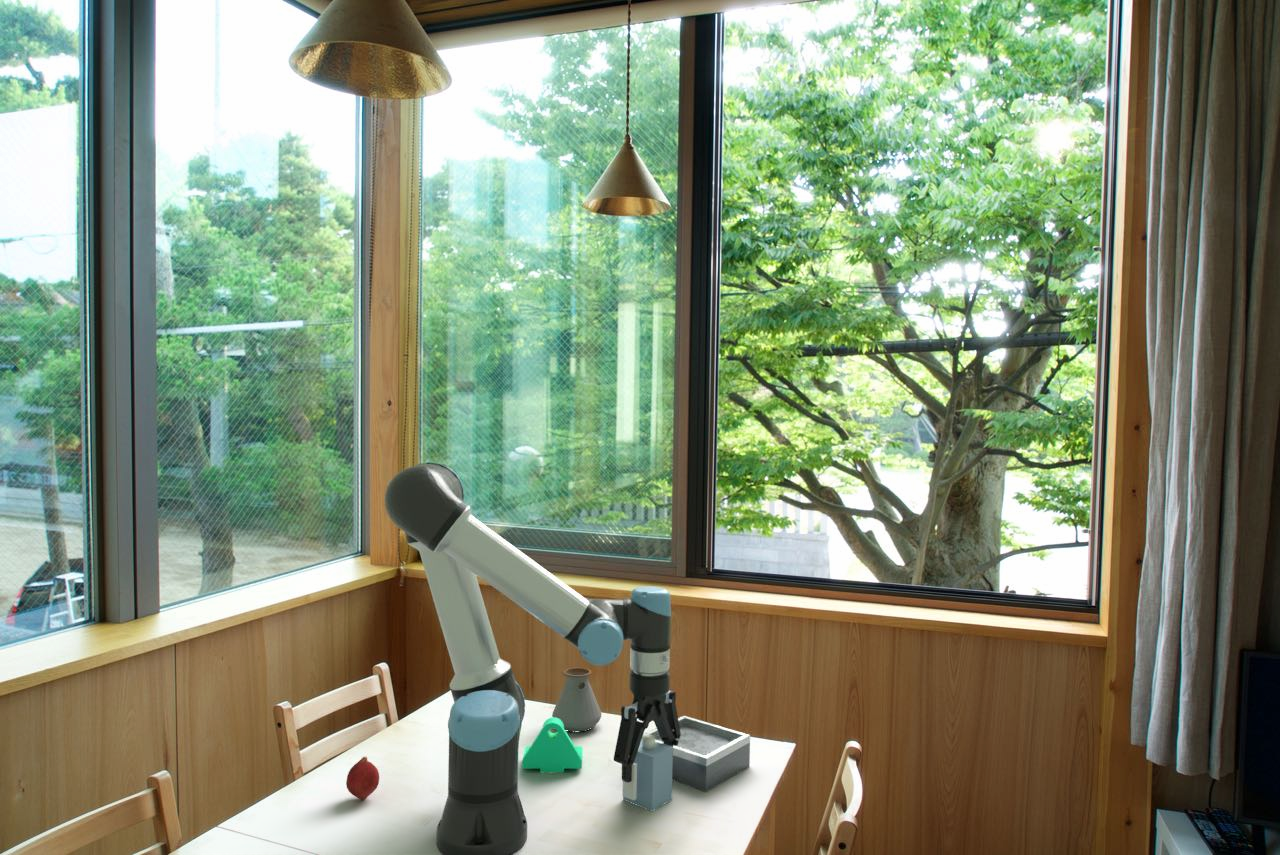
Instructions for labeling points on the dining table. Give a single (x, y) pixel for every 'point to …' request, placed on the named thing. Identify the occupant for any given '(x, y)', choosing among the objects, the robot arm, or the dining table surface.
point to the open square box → (707, 753)
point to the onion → (362, 779)
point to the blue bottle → (653, 773)
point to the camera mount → (552, 749)
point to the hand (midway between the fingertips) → (647, 787)
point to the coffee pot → (577, 702)
